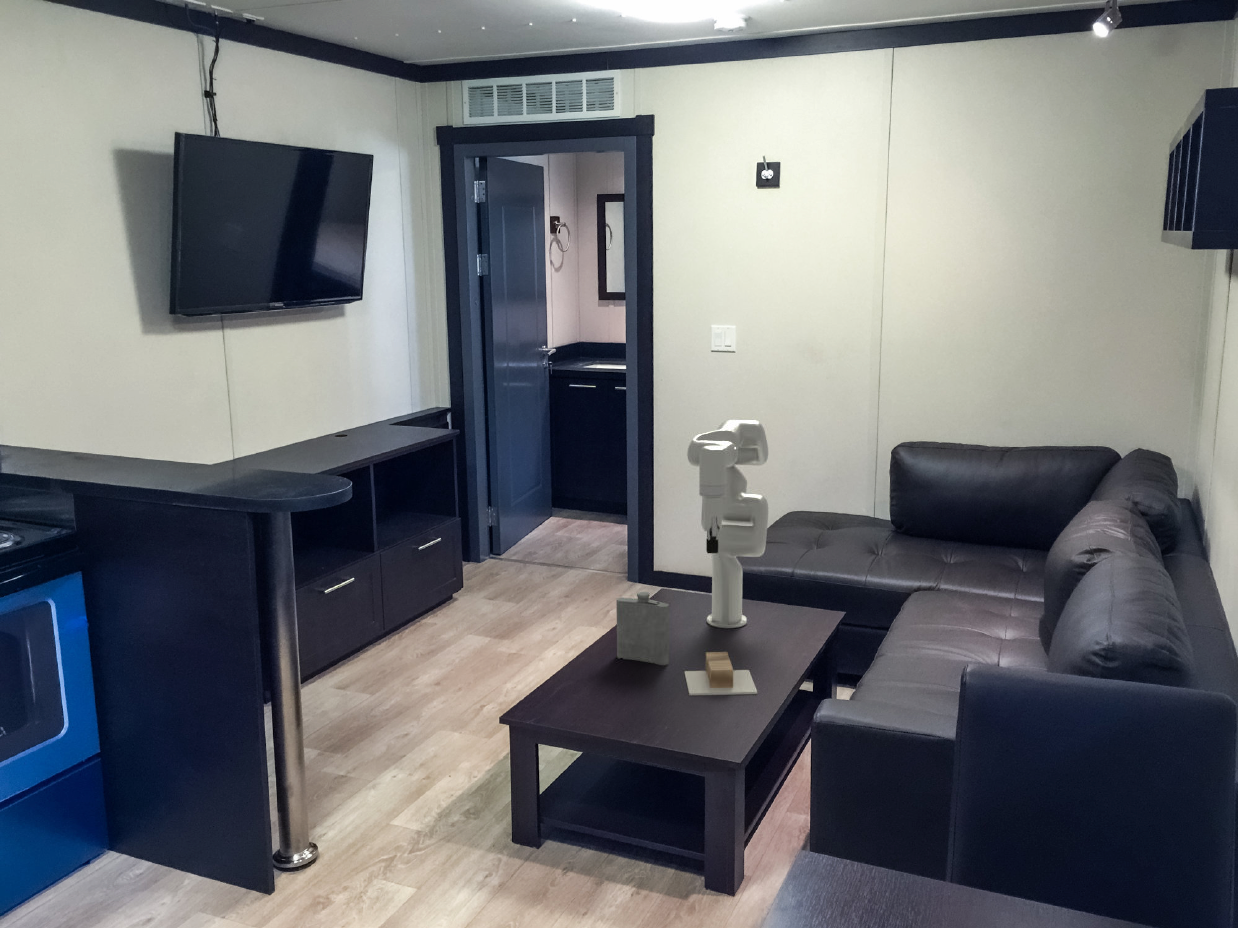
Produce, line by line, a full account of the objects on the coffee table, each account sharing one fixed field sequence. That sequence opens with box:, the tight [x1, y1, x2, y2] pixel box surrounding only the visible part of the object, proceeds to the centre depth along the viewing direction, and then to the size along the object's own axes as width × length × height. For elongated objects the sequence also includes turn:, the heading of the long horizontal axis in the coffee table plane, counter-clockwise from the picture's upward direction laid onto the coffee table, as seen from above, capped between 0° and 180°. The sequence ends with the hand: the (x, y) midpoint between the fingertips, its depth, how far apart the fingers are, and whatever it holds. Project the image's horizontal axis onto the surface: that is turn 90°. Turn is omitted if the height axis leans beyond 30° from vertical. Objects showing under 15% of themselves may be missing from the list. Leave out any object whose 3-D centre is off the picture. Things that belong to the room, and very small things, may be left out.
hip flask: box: [615, 591, 670, 666], centre depth 303 cm, size 16×4×20 cm, turn 66°
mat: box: [684, 669, 758, 696], centre depth 287 cm, size 15×18×1 cm
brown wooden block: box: [705, 651, 734, 688], centre depth 289 cm, size 5×6×13 cm
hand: (712, 552), depth 301 cm, fingers closed
